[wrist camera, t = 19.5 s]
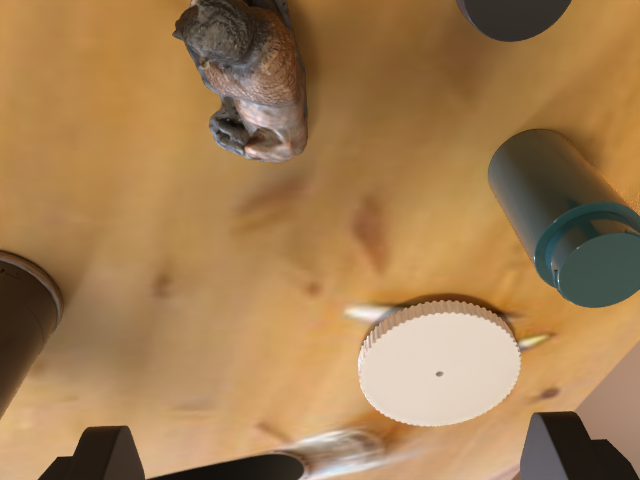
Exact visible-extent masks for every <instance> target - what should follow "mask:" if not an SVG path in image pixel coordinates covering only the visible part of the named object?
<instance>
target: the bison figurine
mask: <svg viewBox="0 0 640 480" xmlns="http://www.w3.org/2000/svg"><path fill="white" fill-rule="evenodd" d="M175 27H176V30H175V31H174V32H173V34H172V35H173V36H174V37H175V38H178V39H180V40H183V41H184V42H185V45H186V47H187V50H188V52H189V54H190V56H191V57H192V59H193V60H194V62H195V64H196V67H197V69H198V71H199V72H200V74H201V77H202V80H203V83H204V85H205V86H206V87H207V88H209V89H211V90H212V91H213V92H214V93H218V94H220V97H221V100H222V108H221V109H220V110H219V111H217V112H216V113H215V114H213V115H212V116H211V118H210V124H209V128H210V130H211V132H212V134H213V137H214V139H215V142H216V143H217V144H218V145H219V146H220V147H222V148H224V149H226V150H229V151H231V152H234V153H236V154H237V155H240V156H244V157H246V158H247V159H249V160H259V161H265V162H272V163H282V162H286V161H288V160H291V159H292V158H294V157H295V156H297V155H300V154H301V153H302V152H303V150H304V149H305V147H306V144H307V140H308V132H307V97H306V79H305V68H304V64H303V61H302V58H301V55H300V53H299V50H298V47H297V44H296V41H295V36H294V32H293V29H292V25H291V19H290V15H289V10H288V5H287V2H286V0H191V3H190V8H189V9H187V10H186V11H184V13H183V14H182V15H181V17H180V19H179V20H177V21H176V23H175Z"/></svg>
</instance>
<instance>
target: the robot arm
mask: <svg viewBox="0 0 640 480" xmlns="http://www.w3.org/2000/svg"><path fill="white" fill-rule="evenodd" d="M62 315H63V300H62V297H61V294H60V292H59V290H58V288H57V286H56V285H55V284H54V282H53V281H52V280H51V279H50V277H49V276H48V275H46V274H45V273H44V272H43V271H42V270H41V269H39V268H38V267H37V266H35V265H33V264H32V263H30V262H28V261H26V260H24V259H22V258H20V257H17V256H14V255H11V254H8V253H3V252H0V420H1V418H2V416H3V415H4V413H5V411H6V409H7V408H8V406H9V404H10V403H11V401H12V399H13V398H14V396H15V394H16V392H17V391H18V389H19V387H20V386H21V384H22V382H23V381H24V379H25V377H26V375H27V374H28V372H29V370H30V369H31V367H32V365H33V364H34V362H35V360H36V358H37V357H38V355H39V354H40V352H41V350H42V349H43V347H44V345H45V344H46V342H47V340H48V338H49V337H50V335H51V334H52V333H53V332H54V330H55V329H56V327H57V325H58V324H59V322H60V320H61V318H62ZM520 472H521V480H640V479H639V478H638V476H637V474H636V472H635V470H634V469H633V467H632V465H631V463H630V462H629V461H628V460H627V459H626V458H625V457H624V456H623V455H622V454H621V453H620V452H619V451H618V450H617V449H616V448H615V447H614V446H613V445H612V444H611V443H610V442H609V441H607V439H605V440H604V439H602V440H591V439H590V437H589V435H588V433H587V431H586V429H585V427H584V425H583V423H582V421H581V419H580V417H579V416H578V415H577V414H576V413H575V412H572V411H567V412H538V413H534V414H533V415H532V417H531V420H530V424H529V428H528V432H527V436H526V440H525V444H524V448H523V452H522V456H521V462H520ZM38 480H145V475H144V470H143V467H142V464H141V461H140V458H139V455H138V452H137V449H136V446H135V443H134V440H133V437H132V434H131V431H130V429H129V427H128V426H100V427H88V428H86V429H85V431H84V432H83V434H82V436H81V438H80V440H79V443H78V445H77V447H76V450H75V452H74V455H73V456H67V457H57V458H56V460H55V461H54V462H53V463H52V464H51V465H50V466H49V467H48V469H47V470H46V471H45V472H44V473H43V474H42V475H41V477H40V478H39V479H38Z"/></svg>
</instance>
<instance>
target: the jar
mask: <svg viewBox="0 0 640 480" xmlns="http://www.w3.org/2000/svg"><path fill="white" fill-rule="evenodd" d="M488 181H489V185H490V188H491V190H492V192H493V194H494V195H495V197H496V199H497V201H498V203H499V204H500V206H501V208H502V210H503V212H504V213H505V215H506V217H507V219H508V221H509V223H510V224H511V226H512V228H513V230H514V232H515V233H516V235H517V237H518V239H519V241H520V242H521V244H522V246H523V248H524V250H525V251H526V253H527V255H528V257H529V259H530V260H531V262H532V264H533V266H534V268H535V269H536V271H537V273H538V275H539V276H540V277H541V279H543V280H544V281H545V282H546V283H547V284H549V285H550V286H552V287H554V288H556V289H557V291H558V292H559V293H560V294H561V295H562V296H563V298H565V299H567V300H568V301H570V302H572V303H574V304H576V305H579V306H583V307H590V308H598V307H605V306H610V305H613V304H616V303H619V302H621V301H623V300H625V299H627V298H629V297H630V296H632V295H633V294H634V293H636V292H637V291H638V290H639V289H640V216H639V215H638V214H637V213H636V212H635V211H634V210H633V209H632V208H631V207H630V206H629V204H628V203H627V202H626V201H625V200H624V199H623V198H622V197H621V196H620V195H619V194H618V193H617V192H616V191H615V190H614V189H613V188H612V187H611V185H610V184H609V183H608V182H607V181H606V180H605V179H604V178H603V177H602V176H601V175H600V174H599V173H598V172H597V171H596V170H595V169H594V168H593V167H592V165H591V164H590V163H589V162H588V161H587V160H586V159H585V158H584V157H583V156H582V155H581V154H580V153H579V152H578V151H577V150H576V149H575V148H574V146H573V145H572V144H571V143H570V142H569V141H568V140H567V139H566V138H565V137H563V136H562V135H560V134H559V133H557V132H554V131H551V130H545V129H535V130H529V131H525V132H522V133H519V134H517V135H515V136H513V137H512V138H510V139H509V140H507V141H506V142H505V143H504V144H503V145H502V146H501V147H500V148H499V149H498V150H497V152H496V153H495V155H494V156H493V158H492V160H491V162H490V166H489V170H488Z"/></svg>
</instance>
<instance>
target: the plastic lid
mask: <svg viewBox="0 0 640 480" xmlns="http://www.w3.org/2000/svg"><path fill="white" fill-rule="evenodd" d="M390 316H391V317H390V318H386V319H385V321H384V322H380V323H379V326H376V327H375V330H374V331H371V332H370V334H371V335H368V336H367V340H365V341H364V345H362V347H361V349H362V350H360V355H359V361H358V371H359V381H360V385H361V390H363V394H364V395H365V398H366V399H368V402H369V403H371V404H372V407H375V408H376V410H377V411H378V410H379V411H380V413H381V414H383V413H384V414H385V416H386V417H387V416H389V417H390V419H395V421H401V423H407V424H408V425H410V424H413V425H414V426H417V425H420V426H422V427H423V426H426V427H430V426H433V427H436V426H443V425H447V426H448V425H450V424H453V425H454V424H456V423H458V422H459V423H462V422H463V421H469V419H471V418H472V419H474V418H475V417H476V416H481V414H482V413H486V412H487V411H488V410H491V409H493V408H492V407H494V406H497V405H498V403H499V402H500V403H501V402H502V399H503V398H506V397H507V396H506V395H507V394H510V390H512V389H513V388H514V387H513V385H516V383H517V382H516V380H518V379H519V377H518V375H520V371H519V370H521V366H520V365H521V364H522V362H521V356H520V354H521V353H520V351H519V347H518V345H517V343H516V340H515V338H514V336H513V334H512V331H511V330H510V329H509V327H508V325H506V323H505V322H504V321H502V319H501V318H500V317H497V315H496V314H495V313H494V314H492V312H491V311H490V310H488V311H486V308H484V307H483V308H480V306H479V305H476V306H474V305H473V303H469V304H466V302H462V303H460V302H459V301H455V302H452V301H451V300H448V301H447V302H444V300H440V302H436V301H432V303H429V302H425V304H421V303H419V304H418V305H417V306H414V305H412V306H410V308H404V309H403V311H397V314H395V315H394V314H392V315H390Z"/></svg>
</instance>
